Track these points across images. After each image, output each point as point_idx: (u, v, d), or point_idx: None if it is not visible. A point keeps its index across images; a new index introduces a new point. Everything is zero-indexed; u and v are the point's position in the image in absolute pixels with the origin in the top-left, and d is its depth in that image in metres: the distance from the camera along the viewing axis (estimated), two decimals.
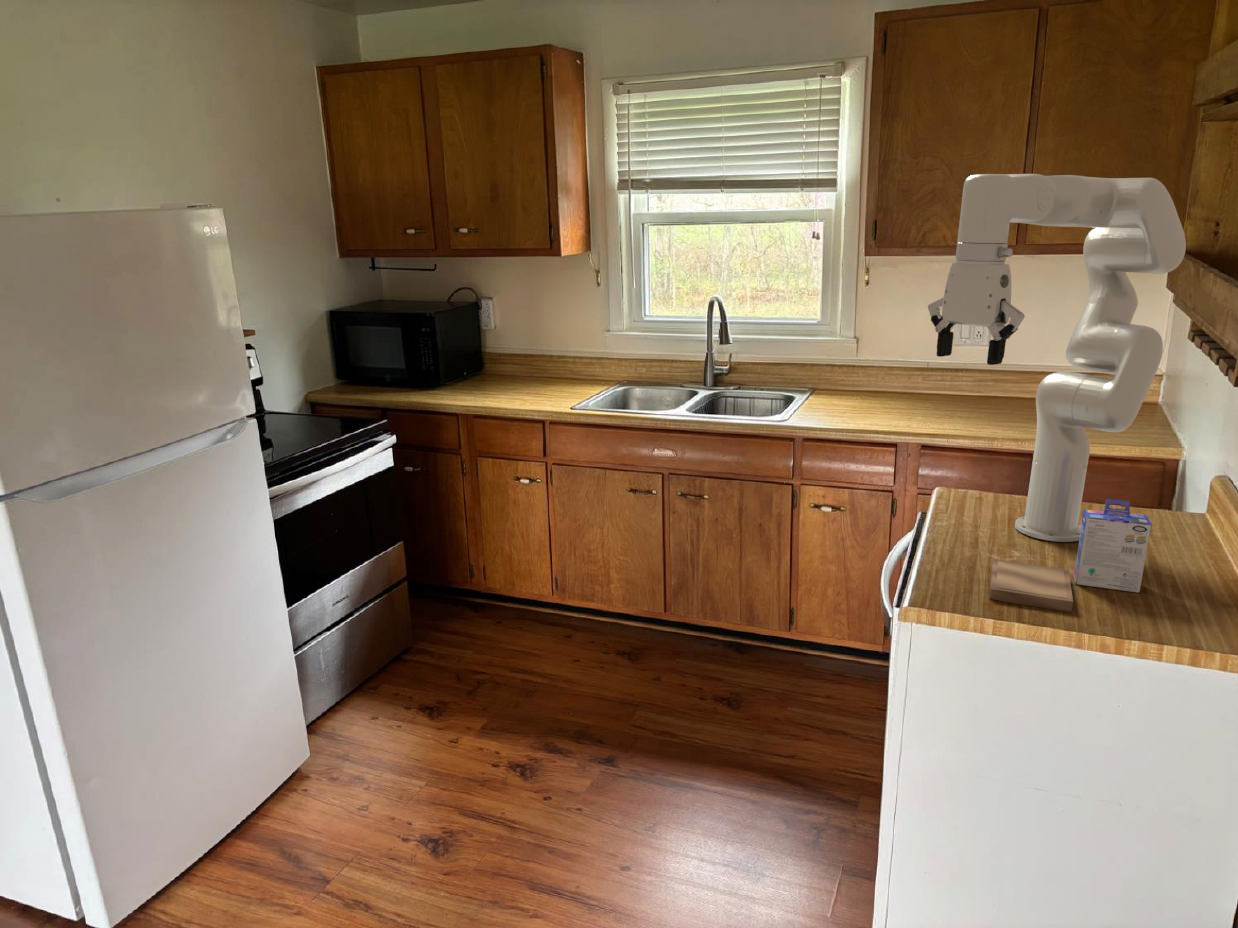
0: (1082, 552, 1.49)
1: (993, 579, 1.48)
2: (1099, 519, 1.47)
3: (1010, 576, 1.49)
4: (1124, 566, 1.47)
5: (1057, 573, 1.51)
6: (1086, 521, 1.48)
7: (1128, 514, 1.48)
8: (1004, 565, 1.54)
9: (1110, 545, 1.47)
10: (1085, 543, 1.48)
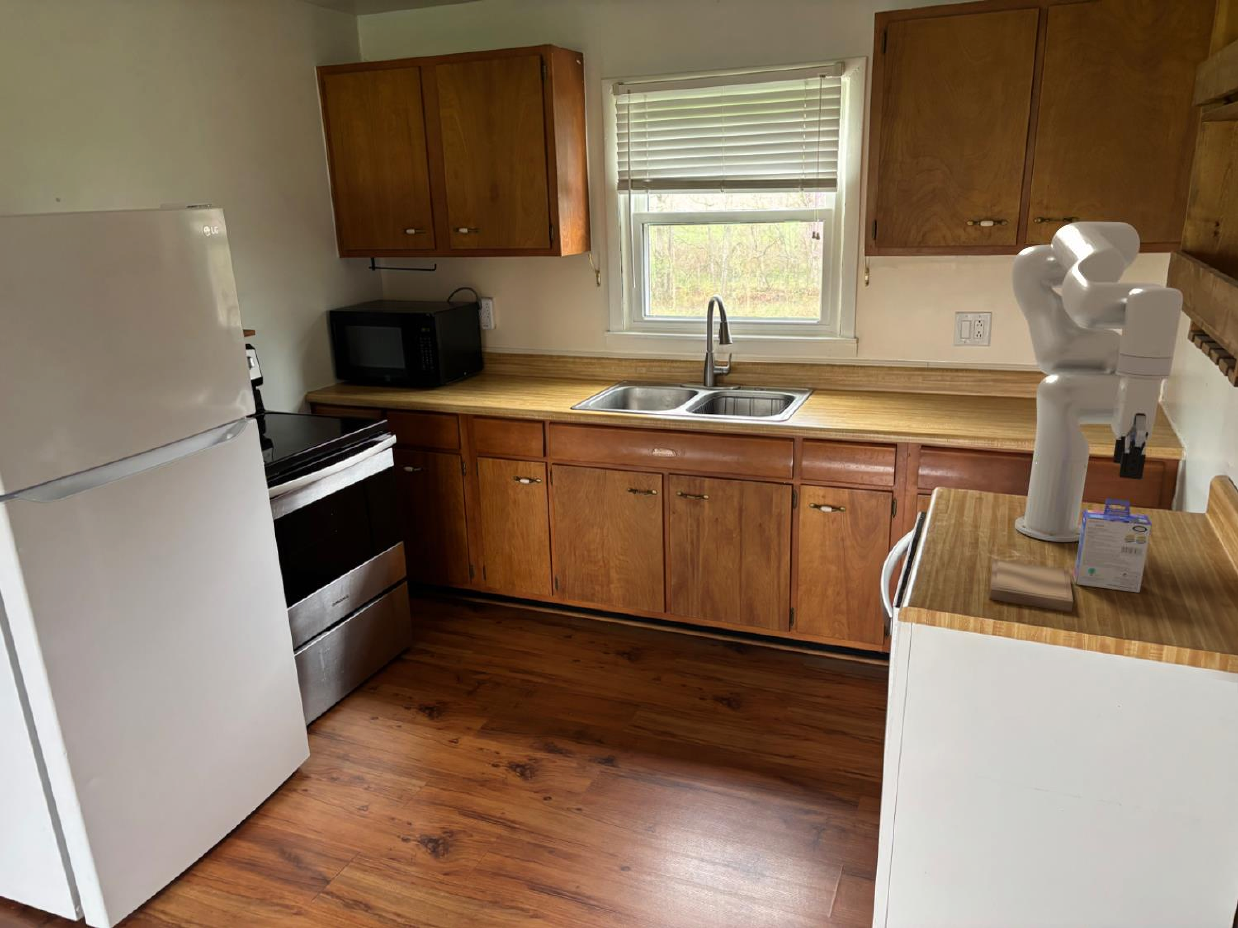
0: (1082, 552, 1.49)
1: (993, 579, 1.48)
2: (1099, 519, 1.47)
3: (1010, 576, 1.49)
4: (1124, 566, 1.47)
5: (1057, 573, 1.51)
6: (1086, 521, 1.48)
7: (1128, 514, 1.48)
8: (1004, 565, 1.54)
9: (1110, 545, 1.47)
10: (1085, 543, 1.48)
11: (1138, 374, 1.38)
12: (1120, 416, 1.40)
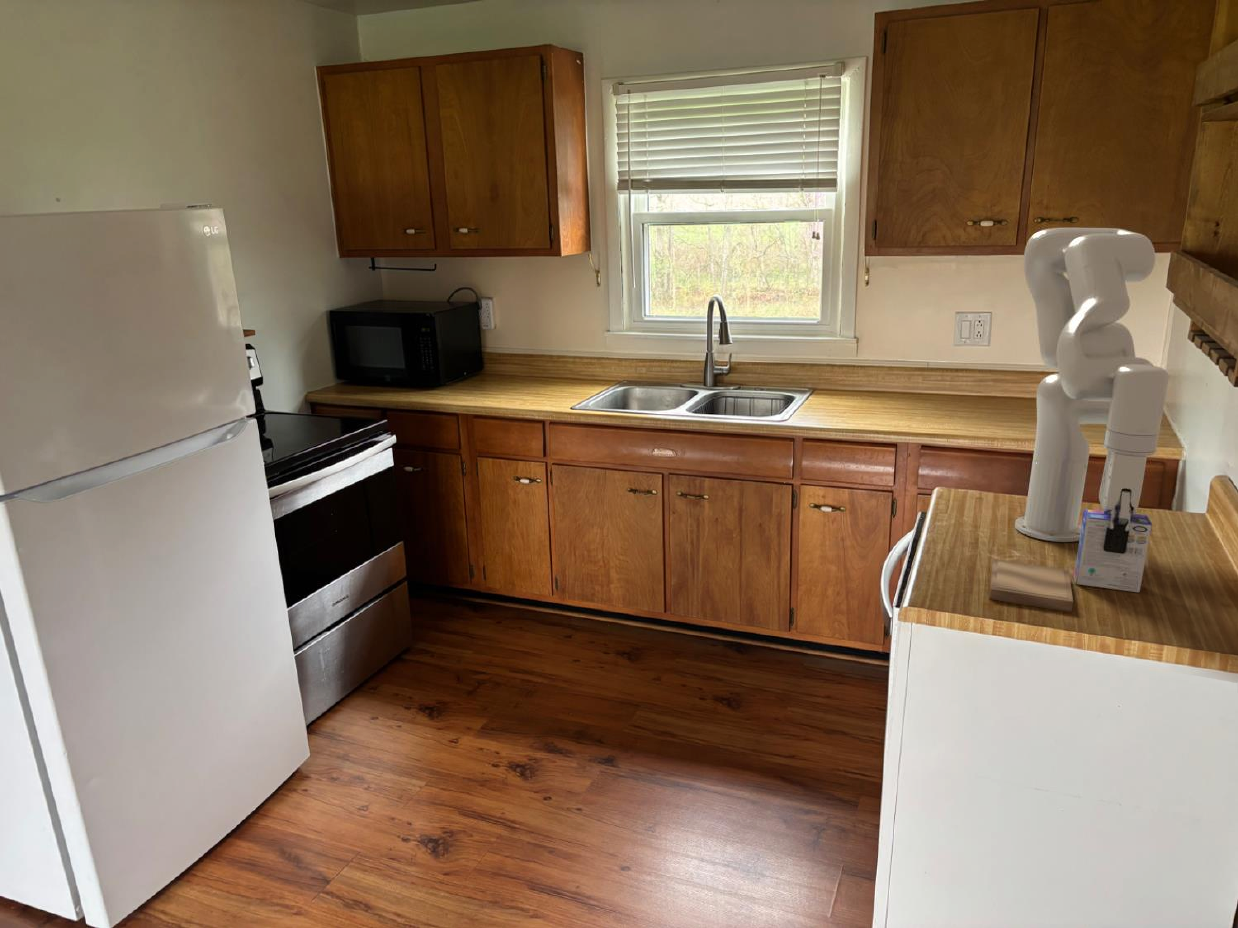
0: (1082, 552, 1.49)
1: (993, 579, 1.48)
2: (1100, 519, 1.47)
3: (1010, 576, 1.49)
4: (1124, 566, 1.47)
5: (1057, 573, 1.51)
6: (1086, 521, 1.48)
7: None
8: (1004, 565, 1.54)
9: None
10: (1086, 543, 1.48)
11: (1124, 450, 1.42)
12: (1107, 490, 1.44)
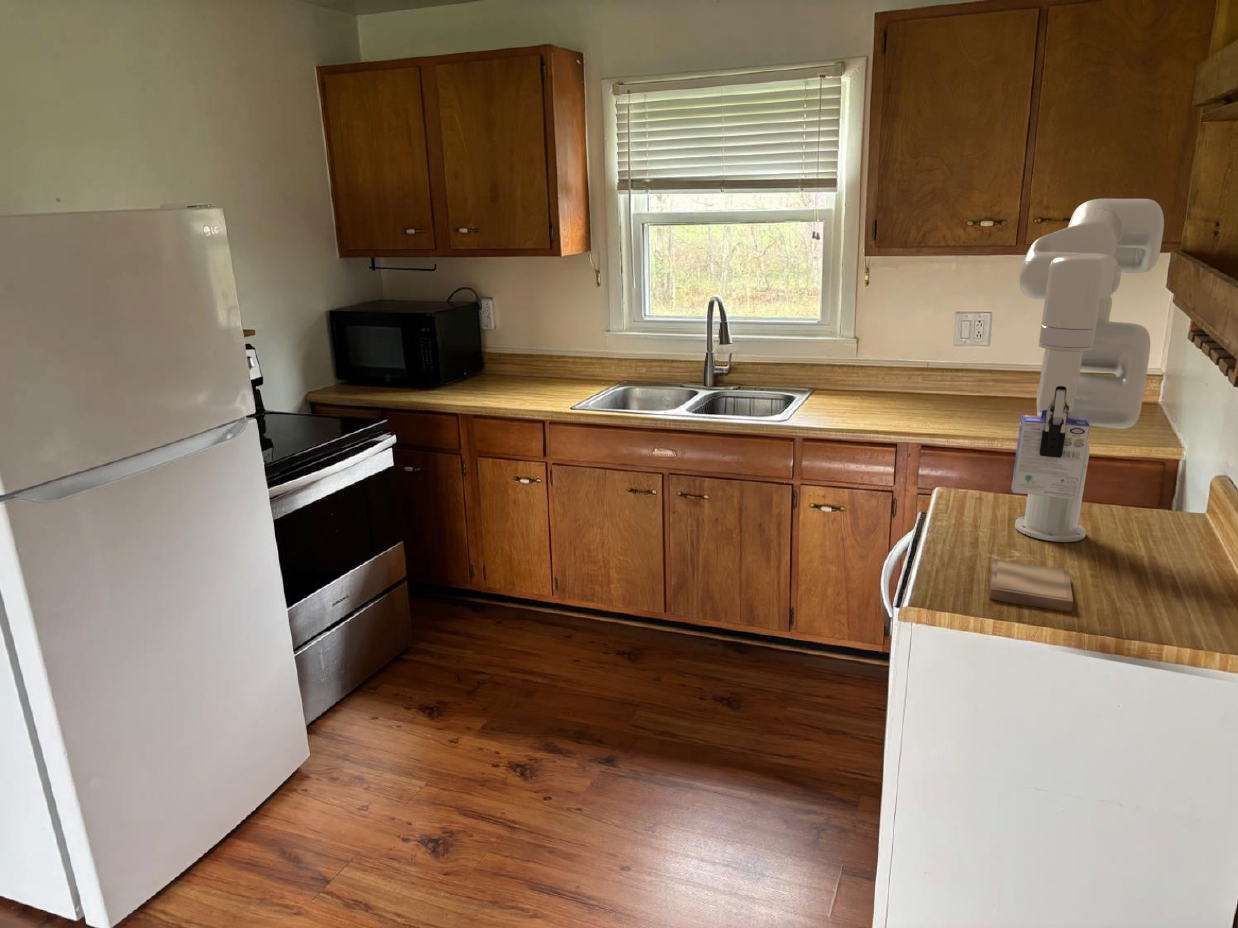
0: (1018, 458, 1.42)
1: (993, 579, 1.48)
2: (1036, 422, 1.40)
3: (1010, 576, 1.49)
4: (1061, 472, 1.40)
5: (1057, 573, 1.51)
6: (1022, 425, 1.40)
7: (1066, 417, 1.40)
8: (1004, 565, 1.54)
9: None
10: (1022, 448, 1.41)
11: (1059, 346, 1.35)
12: (1041, 389, 1.37)
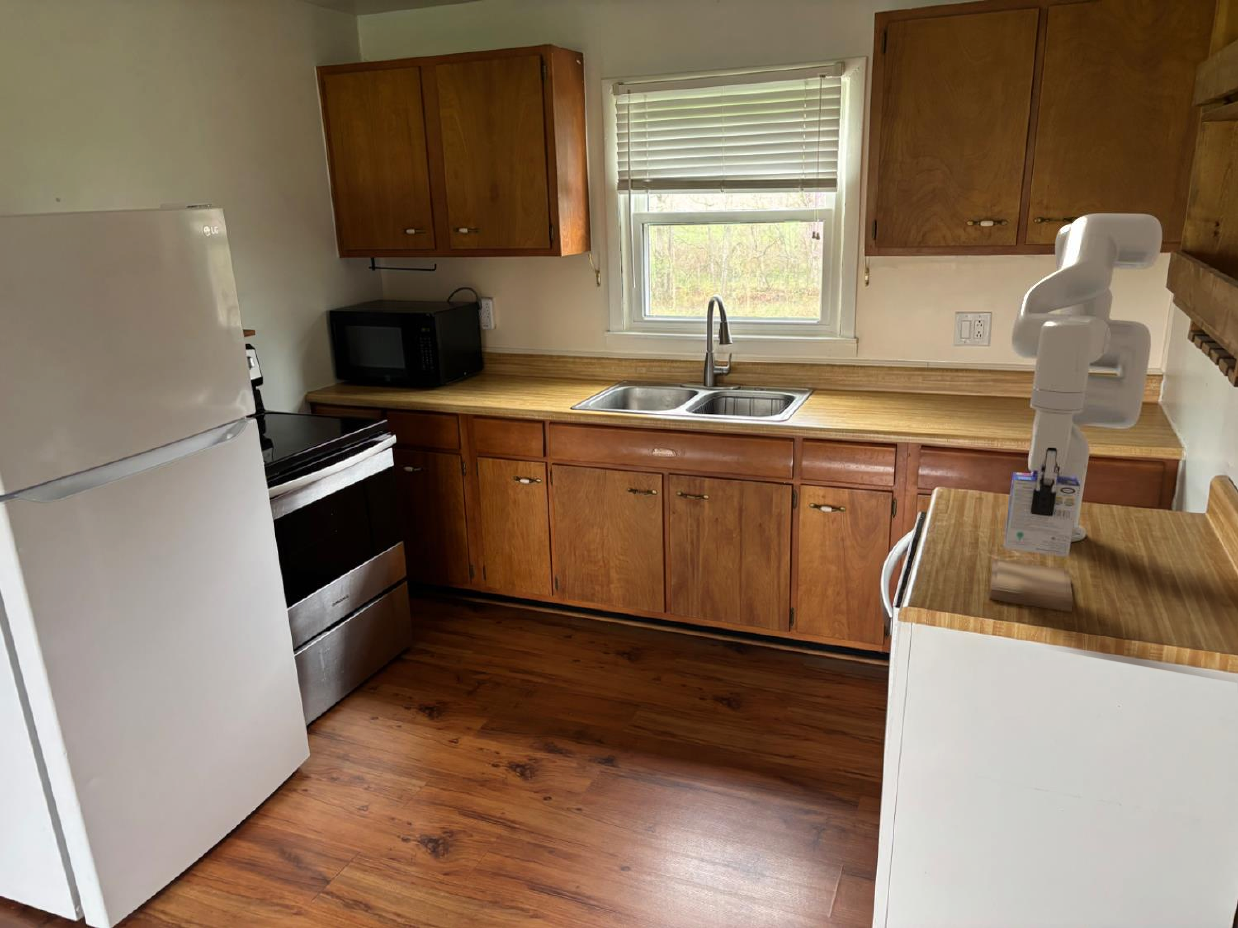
0: (1010, 515, 1.44)
1: (993, 579, 1.48)
2: (1027, 481, 1.42)
3: (1010, 576, 1.49)
4: (1052, 529, 1.42)
5: (1057, 573, 1.51)
6: (1014, 483, 1.43)
7: (1057, 476, 1.43)
8: (1004, 565, 1.54)
9: None
10: (1013, 506, 1.44)
11: (1050, 408, 1.37)
12: (1032, 450, 1.39)
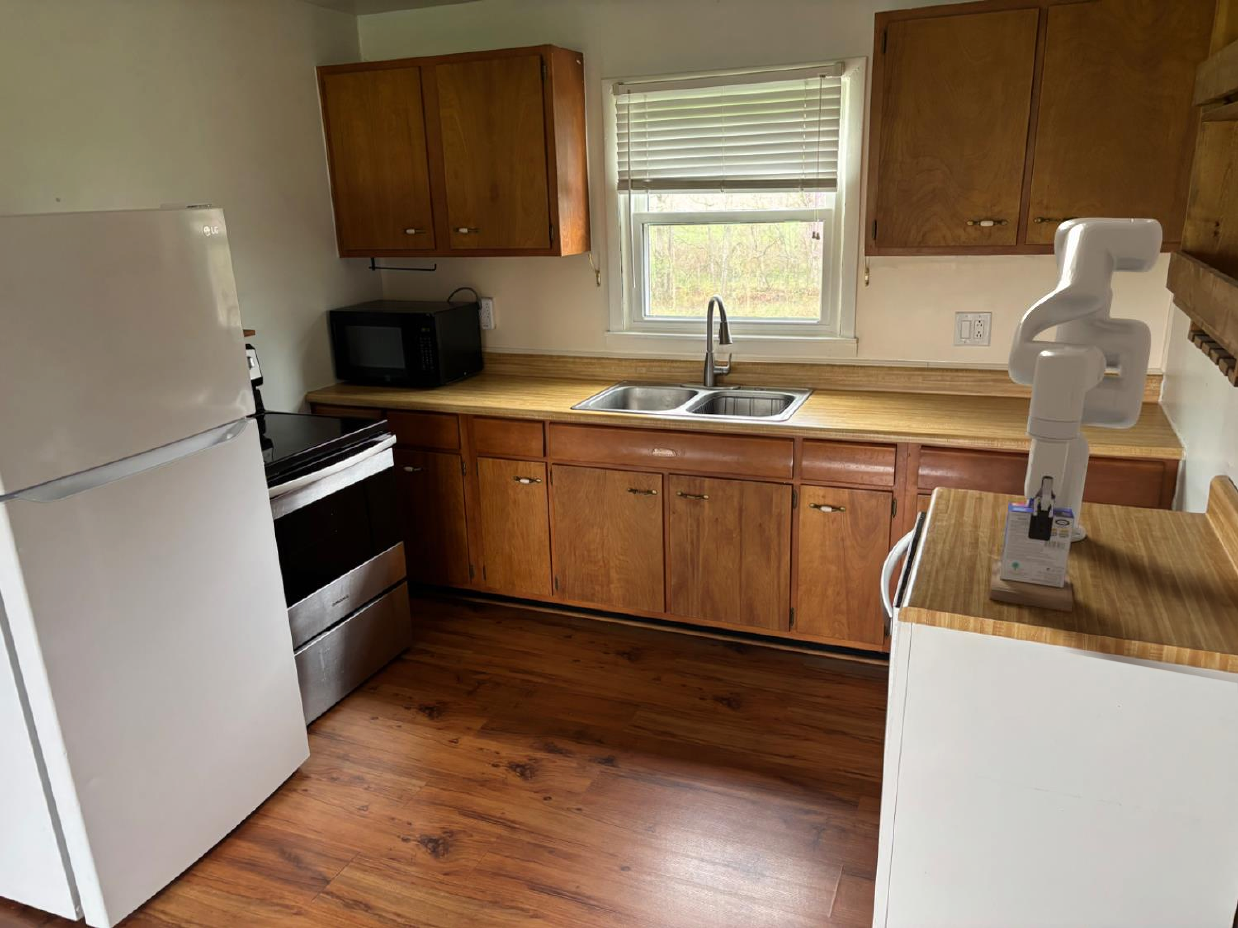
0: (1005, 546, 1.46)
1: (993, 579, 1.48)
2: (1022, 512, 1.44)
3: None
4: (1047, 560, 1.44)
5: None
6: (1009, 514, 1.45)
7: None
8: None
9: (1033, 539, 1.44)
10: (1009, 536, 1.46)
11: (1046, 437, 1.39)
12: (1029, 478, 1.40)
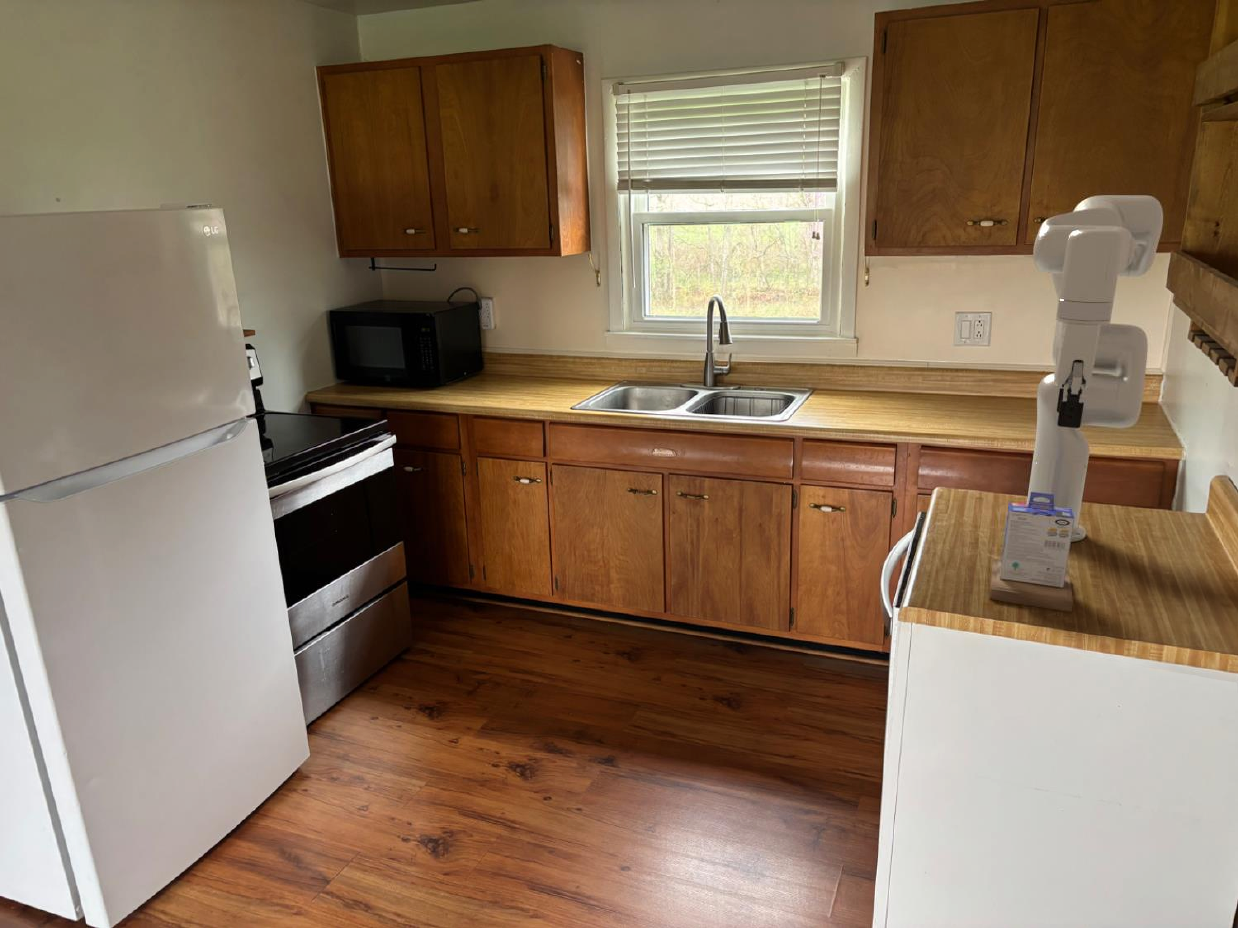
0: (1005, 546, 1.46)
1: (993, 579, 1.48)
2: (1022, 512, 1.44)
3: None
4: (1047, 560, 1.44)
5: None
6: (1009, 514, 1.45)
7: (1052, 507, 1.45)
8: None
9: (1033, 539, 1.44)
10: (1009, 536, 1.46)
11: (1076, 319, 1.34)
12: (1058, 363, 1.36)
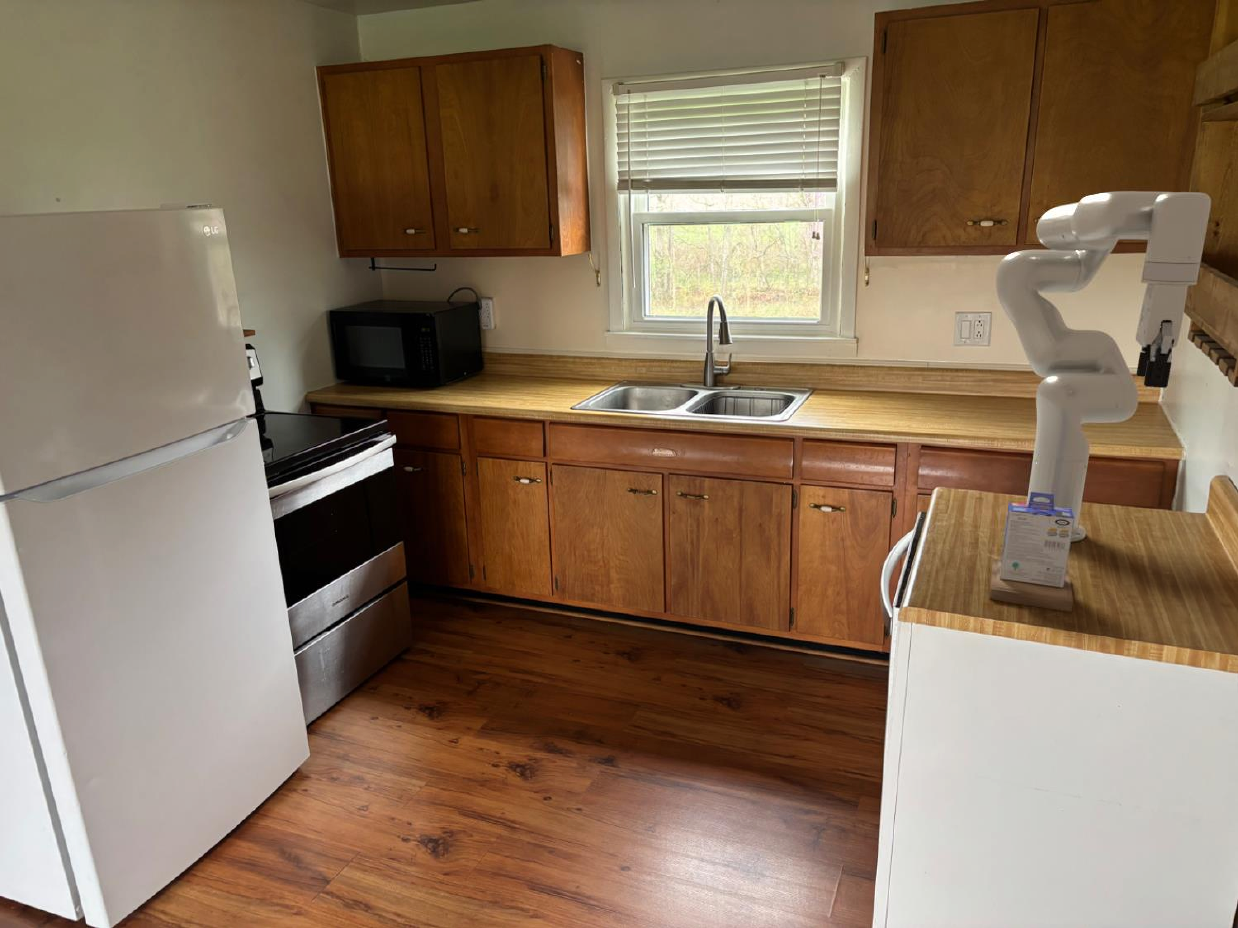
0: (1005, 546, 1.46)
1: (993, 579, 1.48)
2: (1022, 512, 1.44)
3: None
4: (1047, 560, 1.44)
5: None
6: (1009, 514, 1.45)
7: (1052, 507, 1.45)
8: None
9: (1033, 539, 1.44)
10: (1009, 536, 1.46)
11: (1165, 280, 1.37)
12: (1146, 324, 1.39)
